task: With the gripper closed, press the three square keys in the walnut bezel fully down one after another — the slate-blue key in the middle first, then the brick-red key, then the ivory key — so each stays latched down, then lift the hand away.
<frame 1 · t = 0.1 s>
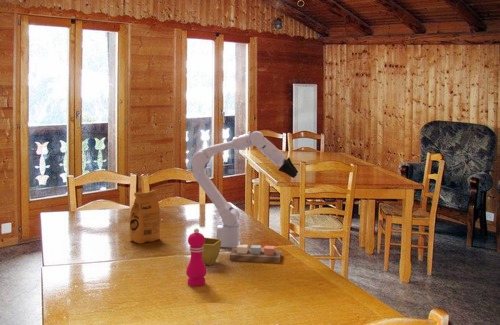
hand: (296, 174, 254), 32 cm above the table, tool tilted 50°, fingers open, 7 cm apart
pepper mill: (196, 284, 214), on the table
coffee package: (144, 240, 269), on the table
flower pot: (207, 263, 237), on the table
walnut bezel: (255, 257, 245), on the table
slate key: (255, 250, 244), point 3 cm above the table, slide at 0.0 cm
ivory key: (242, 249, 245), point 3 cm above the table, slide at 0.0 cm
brick key: (269, 250, 244), point 3 cm above the table, slide at 0.0 cm
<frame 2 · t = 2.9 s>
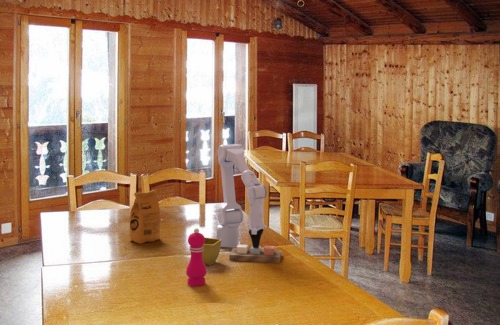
hand: (255, 247, 244), 4 cm above the table, tool pointing down, fingers closed, pressing on slate key
slate key: (255, 250, 245), point 3 cm above the table, slide at 0.3 cm, touching gripper
everything else where it was.
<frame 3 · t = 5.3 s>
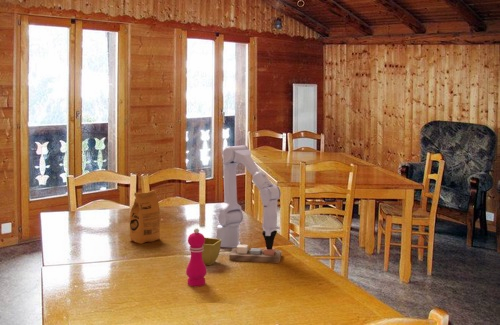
hand: (269, 248, 244), 4 cm above the table, tool pointing down, fingers closed, pressing on brick key
slate key: (255, 253, 245), point 2 cm above the table, slide at 1.2 cm
brick key: (269, 252, 244), point 3 cm above the table, slide at 0.6 cm, touching gripper
everything else where it was.
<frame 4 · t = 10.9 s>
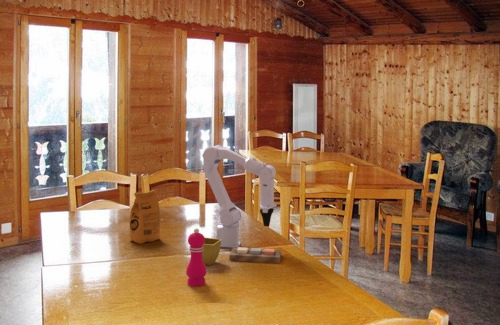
hand: (266, 225, 255), 10 cm above the table, tool pointing down, fingers closed
ivory key: (242, 252, 245), point 2 cm above the table, slide at 1.2 cm
brick key: (269, 253, 244), point 2 cm above the table, slide at 1.2 cm
everything else where it was.
at the end: slate key slide at 1.2 cm; brick key slide at 1.2 cm; ivory key slide at 1.2 cm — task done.
